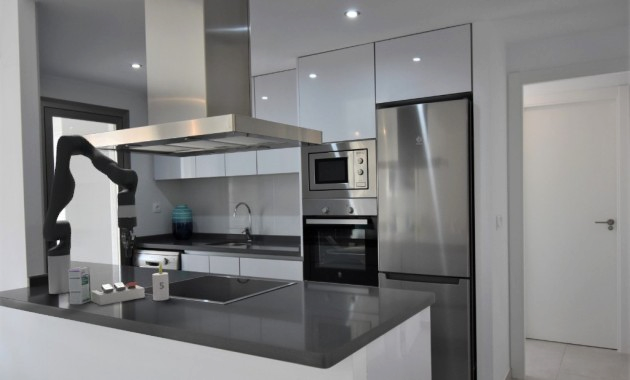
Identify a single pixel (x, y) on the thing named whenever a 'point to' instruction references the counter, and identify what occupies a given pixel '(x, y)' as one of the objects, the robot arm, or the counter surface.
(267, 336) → the counter surface
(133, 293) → the power strip
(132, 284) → the rocker
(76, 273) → the syrup box
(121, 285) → the rocker
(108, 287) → the rocker
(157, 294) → the candle
